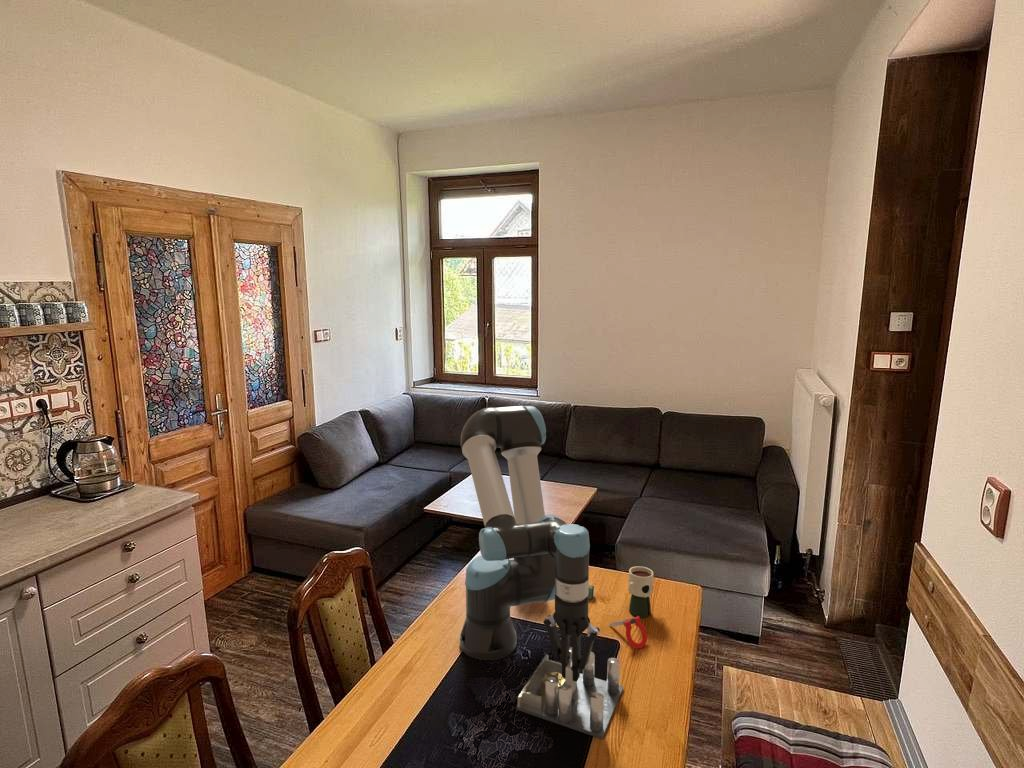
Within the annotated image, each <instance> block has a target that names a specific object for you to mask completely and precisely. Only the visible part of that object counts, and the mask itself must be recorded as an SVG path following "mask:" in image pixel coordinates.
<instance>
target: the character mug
mask: <svg viewBox="0 0 1024 768" xmlns="http://www.w3.org/2000/svg"><path fill="white" fill-rule="evenodd" d="M654 578H655V577H654V571H653V570H652V569H650V568H648V567H646V566H640V565H639V566H632V567H630V568H629V569H628V593H629V594H631V596H630V601H629V607H628V610H629V612H630V613H631V614H633V615H634V616H636V617H637V616H639V617H640V618H647V617H648V616H649V615H651V613H652V612H651V611H652V609H651V608H652V607H651V598H650V597H651V596H653V593H654Z"/></svg>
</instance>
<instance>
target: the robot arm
mask: <svg viewBox="0 0 1024 768" xmlns="http://www.w3.org/2000/svg"><path fill="white" fill-rule="evenodd" d="M546 428H547V427H546V423H545V420H544V417H543V415H542V413H541V412H540V409H538V408H537V407H535V406H533V405H517V406H516V405H514V406H502V407H501V406H500V407H485V408H482V409H480V410H479V409H478V410H476V412H473V414H472V415H471V416H470V417H469V418H468V419H467V421H466V422H465V424H464V426H463V428H462V431H461V434H460V448H461V453H462V456H464V457H465V458H466V459H467V461H468V465H469V468H470V472H471V477H472V481H473V484H474V489H475V493H476V497H477V501H478V504H479V508H480V512H481V516H482V521H483V525H484V528H481V529H480V531H479V533H478V542H479V543H478V544H479V551H480V555H479V556H478V557H475V558H473V560H472V561H471V562H469V564H468V565H467V566H466V571H465V582H464V585H465V613H466V614H465V619H464V622H463V626H462V629H461V631H460V635H459V647H460V650H461V649H462V650H461V651H462V653H463V652H464V653H465V654H464V653H463V654H464V655H466V656H467V655H468V656H467V657H469V656H470V657H469V658H471V657H472V658H471V659H473V658H475V659H474V660H476V659H479V660H478V661H482V660H485V662H487V661H486V660H490V661H491V660H492V661H497V660H501V659H504V658H506V657H508V656H509V655H511V654H512V653H513V652H514V651H515V649H516V648H517V643H518V642H517V632H516V629H515V626H514V623H513V620H512V617H511V607H516V606H522V605H523V606H524V605H530V604H535V603H542V602H543V603H547V602H549V601H553V600H554V612H553V614H552V615H551V614H549V615H547V616H546V617H545V619H544V620H543V624H544V626H545V629H546V630H547V634H548V639H549V642H550V643H549V644H550V647H551V651H552V652H551V653H552V656H553V661H556V662H559V663H561V664H562V677H563V678H566V684H568V685H570V686H571V688H572V694H573V692H574V691H575V689H576V682H577V680H578V679H579V677H580V673H581V670H583V669H584V668H585V666H586V665H587V663H588V660H589V657H590V653H591V652H592V649H593V645H594V642H595V639H596V638H597V636H598V635H599V632H600V631H601V629H600V627H598V626H596V627H595V626H594V625H592V624H591V618H589V599H588V594H589V585H590V582H589V580H590V579H589V578H590V575H589V573H590V572H589V571H590V570H589V569H590V568H589V567H590V548H591V543H590V535H589V534H590V533H589V530H588V529H587V528H586V527H584V526H581V525H580V524H575V523H566V521H564V520H563V519H561V518H560V517H559V516H557V515H555V514H545V507H544V506H545V505H544V499H543V498H544V497H543V491H542V484H541V478H540V477H541V475H540V470H539V469H540V468H539V462H538V455H539V454H540V452H541V451H542V445H544V444H545V442H546V439H547V434H546V433H547V429H546ZM497 448H498V449H499V448H500V453H501V456H502V457H504V458H505V459H506V460H507V465H508V466H507V467H508V475H509V483H510V492H511V500H512V504H511V501H510V497H509V495H508V491H507V488H506V485H505V481H504V478H503V475H502V471H501V467H500V465H499V460H498V457H497V455H496V450H497ZM558 629H559V630H560V636H559V631H558ZM586 630H587V632H586V634H587V639H586V641H585V644H584V649H583V652H582V651H581V648H582V645H581V644H582V639H581V638H582V634H583V633H584V632H585V631H586ZM560 639H561V641H560ZM571 645H572V646H571ZM570 647H572V661H570V662H569V660H570V658H571V657H570ZM581 655H582V656H581Z"/></svg>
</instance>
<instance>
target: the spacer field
mask: <svg viewBox="0 0 1024 768" xmlns="http://www.w3.org/2000/svg"><path fill="white" fill-rule="evenodd" d="M549 657H550V655H549V654H545V655H544V657H543V658H542V660H541V662H540V663H539V665H538V666H537V667H536V669H535V670H534V672H533V673H532V675H531V676H530V678H529V679H528V680H527V682H526V684H525V685H524V687H523V688H522V690H521V691H520V693H519V694H518V696H517V705H516V710H517V711H519V712H523V713H525V714H528V715H532V716H534V717H537V718H540V719H543V720H546V721H548V722H551V723H554V724H557V725H560V726H562V727H567V728H568V729H572V730H575V731H578V732H580V733H584V734H586V735H589V736H592V737H595V738H598V739H601V740H604V737H605V735H606V732H607V730H608V727H609V724H611V720H612V718H613V716H614V713H615V710H616V708H617V705H618V703H619V700H620V698H621V696H622V694H623V691H624V685H620V668H621V667H620V666H621V664H620V662H621V661H620V659H618V658H616V657H609V658H608V659H607V664H606V665H607V667H606V669H607V671H606V672H607V673H606V680H603V679H600V678H597V677H595V668H596V666H595V665H596V664H595V662H596V660H595V659H596V658H595V657H596V655H595V653H594V652H593V651H591V653H590V657H589V660H588V663H587V665H586V666H585V668H584V669H582V673H581V672H580V677H579V679H578V680H577V682H576V689H575V691H574V692H573V694H572V688H571V686H570V685H568V684H562V685H560V686H559V698H558V679H557V678H555V677H548V678H547V679H546V686H545V694H544V693H542V679H543V677H544V676H545V674H546V673H551V672H559V673H560V674H561V675H562V664H561V663H560V662H559V661H558V662H556V661H555V660H552V659H549ZM570 657H571V658H570V660H569V662H570V661H572V646H570Z"/></svg>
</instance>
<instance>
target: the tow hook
mask: <svg viewBox="0 0 1024 768" xmlns="http://www.w3.org/2000/svg"><path fill="white" fill-rule="evenodd" d="M634 624H635V625H634ZM622 625H623V626H624V627H625V628H626V629H625V637H626V641H627V642H628V643H629V645H630V646H631V647H633V648H634V649H642V648H643V647H645V646H646V644H647V642H648V641H647V640H648V633H647V629H646V627H645V626H644V624H643V623H642V622H641V617H639V616H636V617H632V618H631V617H630V618H628V619H623V620H621V621H614V622H612V623H609V626H610V627H611V626H614V627H617V626H622ZM632 625H634V626H636V627H637V628H639V630H640V631H641V637H642V638H641V640H640V642H635V640H633V638H632V634H631V631H632V629H633V627H632Z"/></svg>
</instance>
